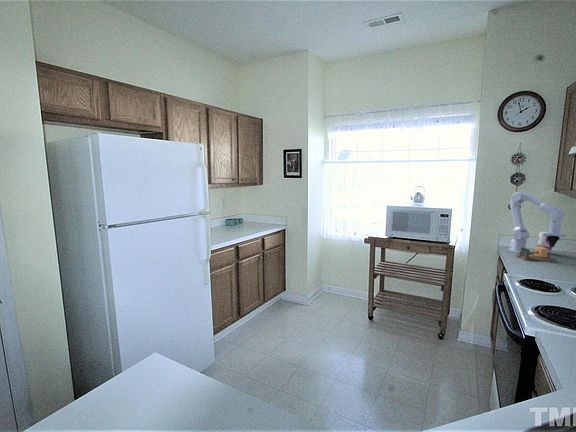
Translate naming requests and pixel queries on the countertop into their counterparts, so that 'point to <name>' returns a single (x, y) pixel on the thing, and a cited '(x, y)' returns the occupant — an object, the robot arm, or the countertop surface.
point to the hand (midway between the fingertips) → (551, 246)
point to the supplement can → (544, 242)
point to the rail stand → (533, 256)
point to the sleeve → (541, 251)
